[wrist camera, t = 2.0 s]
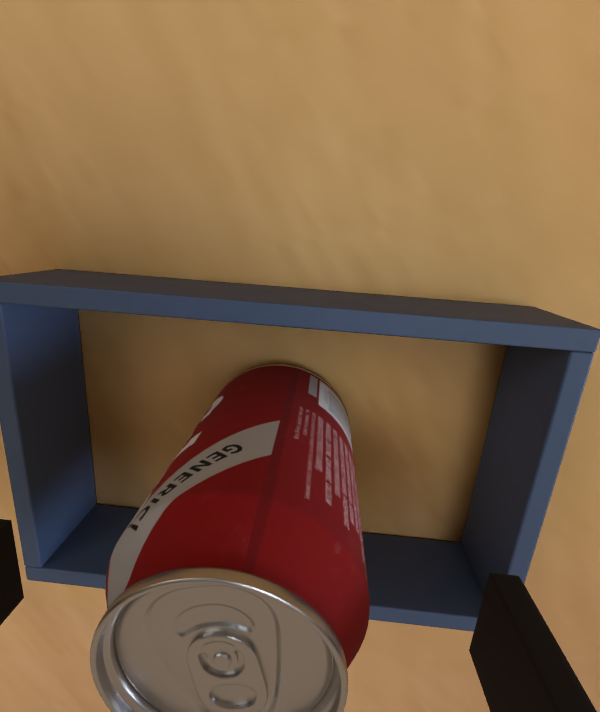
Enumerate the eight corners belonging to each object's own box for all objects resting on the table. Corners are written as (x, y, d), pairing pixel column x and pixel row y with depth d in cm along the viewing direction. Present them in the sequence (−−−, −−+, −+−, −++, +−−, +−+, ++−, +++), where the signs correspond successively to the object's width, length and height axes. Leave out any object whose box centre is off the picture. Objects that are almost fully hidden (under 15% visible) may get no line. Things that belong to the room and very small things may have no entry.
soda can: (338, 349, 18) (355, 535, 7) (357, 474, 20) (396, 783, 9) (200, 370, 19) (12, 568, 8) (231, 488, 21) (115, 789, 10)
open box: (57, 268, 18) (-26, 279, 14) (534, 306, 17) (603, 329, 13) (84, 513, 22) (26, 580, 18) (472, 555, 21) (509, 636, 17)
